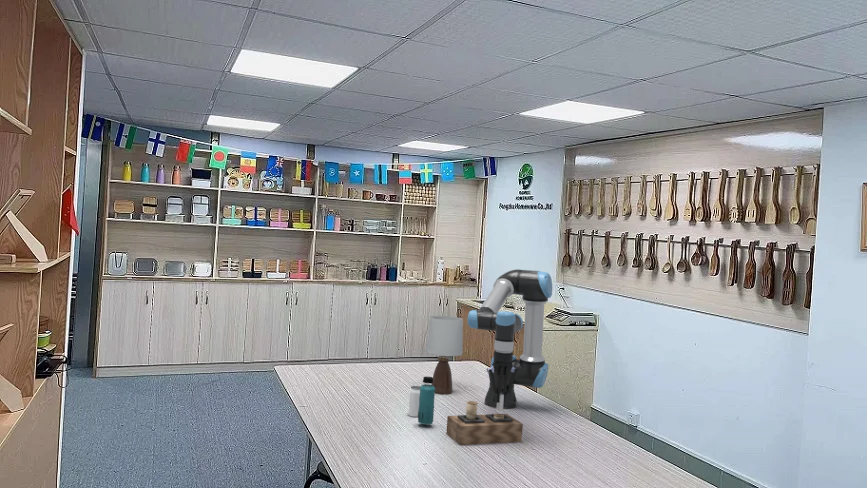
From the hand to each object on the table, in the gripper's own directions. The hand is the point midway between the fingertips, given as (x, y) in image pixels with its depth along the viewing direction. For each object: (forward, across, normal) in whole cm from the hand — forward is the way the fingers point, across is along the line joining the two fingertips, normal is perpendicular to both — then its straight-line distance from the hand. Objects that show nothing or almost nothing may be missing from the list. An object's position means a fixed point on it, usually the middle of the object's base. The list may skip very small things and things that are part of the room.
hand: (499, 410), depth 259 cm
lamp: (+12, -4, -72) cm, 73 cm away
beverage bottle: (+11, +24, -18) cm, 32 cm away
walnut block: (+10, +6, 0) cm, 12 cm away
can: (+11, +23, -33) cm, 42 cm away
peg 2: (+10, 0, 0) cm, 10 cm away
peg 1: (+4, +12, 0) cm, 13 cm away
